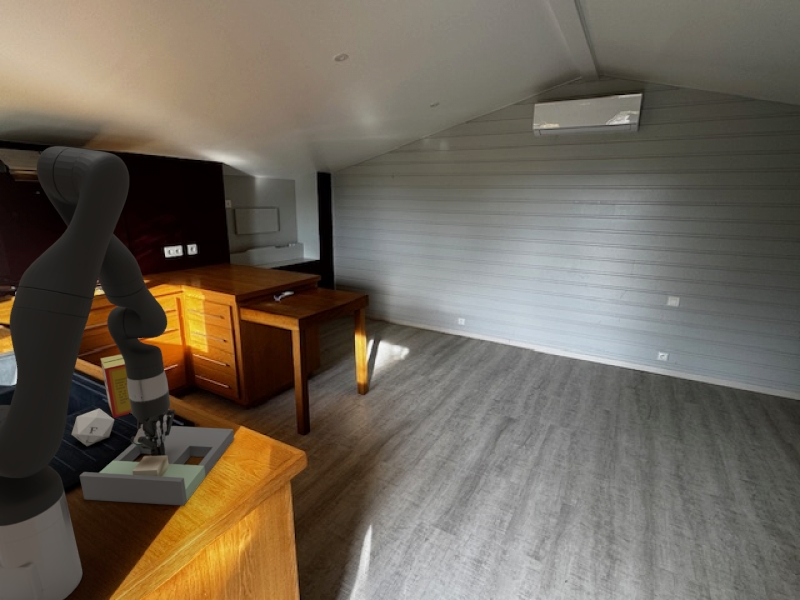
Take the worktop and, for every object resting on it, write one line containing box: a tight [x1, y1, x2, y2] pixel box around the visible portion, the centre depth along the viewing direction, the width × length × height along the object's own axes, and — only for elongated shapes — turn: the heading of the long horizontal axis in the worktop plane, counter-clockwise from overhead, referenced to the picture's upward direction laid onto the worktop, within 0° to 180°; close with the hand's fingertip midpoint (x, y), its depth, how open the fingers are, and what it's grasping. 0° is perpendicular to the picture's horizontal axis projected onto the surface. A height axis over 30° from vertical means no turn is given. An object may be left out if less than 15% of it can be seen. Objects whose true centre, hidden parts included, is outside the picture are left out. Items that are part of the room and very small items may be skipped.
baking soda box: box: [99, 353, 132, 419], centre depth 121 cm, size 10×6×16 cm
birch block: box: [133, 455, 169, 477], centre depth 90 cm, size 5×5×3 cm
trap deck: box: [79, 425, 235, 506], centre depth 97 cm, size 24×22×6 cm
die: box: [71, 408, 115, 447], centre depth 106 cm, size 8×9×10 cm
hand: (159, 457), depth 95 cm, fingers closed
